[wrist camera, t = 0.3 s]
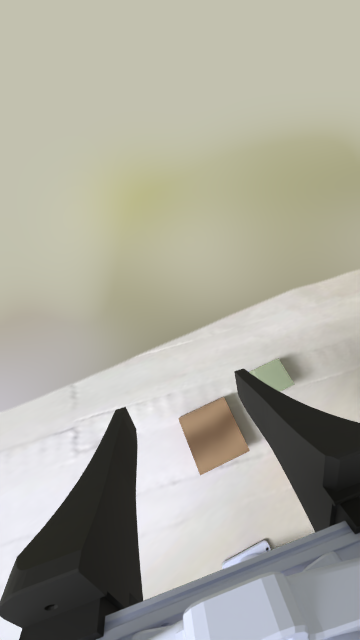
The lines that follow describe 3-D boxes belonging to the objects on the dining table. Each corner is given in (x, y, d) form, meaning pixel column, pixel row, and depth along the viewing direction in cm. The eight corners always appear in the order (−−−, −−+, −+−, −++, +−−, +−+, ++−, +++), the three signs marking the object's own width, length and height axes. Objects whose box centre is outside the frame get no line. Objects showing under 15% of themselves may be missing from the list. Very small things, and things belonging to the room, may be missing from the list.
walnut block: (244, 445, 38) (249, 450, 34) (199, 467, 37) (200, 475, 34) (221, 397, 41) (224, 397, 37) (180, 416, 40) (178, 418, 37)
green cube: (283, 385, 41) (294, 384, 36) (260, 396, 40) (269, 396, 36) (269, 362, 43) (278, 358, 38) (247, 372, 42) (254, 369, 38)
